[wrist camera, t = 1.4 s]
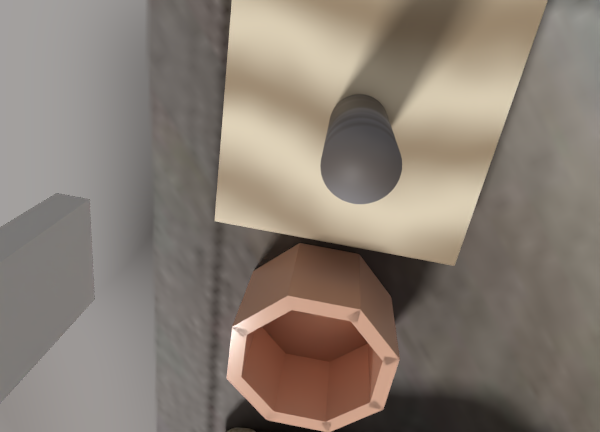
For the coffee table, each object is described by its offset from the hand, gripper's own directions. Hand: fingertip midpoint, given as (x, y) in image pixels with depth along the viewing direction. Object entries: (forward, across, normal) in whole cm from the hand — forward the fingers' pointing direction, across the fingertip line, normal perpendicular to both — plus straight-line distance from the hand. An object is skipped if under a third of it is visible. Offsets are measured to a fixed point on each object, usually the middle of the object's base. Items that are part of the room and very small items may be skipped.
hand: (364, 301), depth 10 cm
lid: (+21, 0, 0) cm, 21 cm away
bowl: (+21, 0, -16) cm, 26 cm away
